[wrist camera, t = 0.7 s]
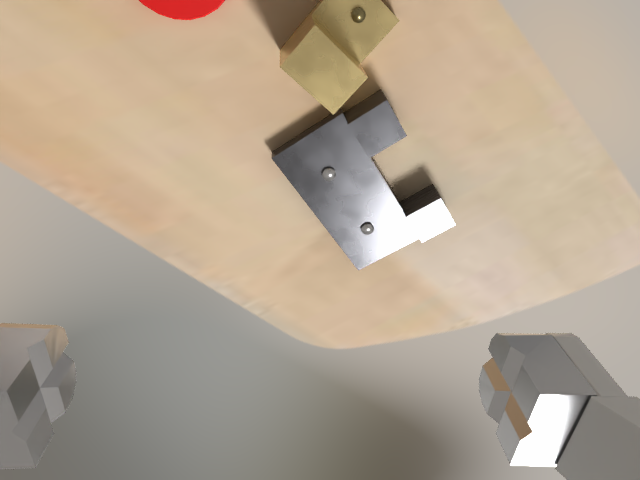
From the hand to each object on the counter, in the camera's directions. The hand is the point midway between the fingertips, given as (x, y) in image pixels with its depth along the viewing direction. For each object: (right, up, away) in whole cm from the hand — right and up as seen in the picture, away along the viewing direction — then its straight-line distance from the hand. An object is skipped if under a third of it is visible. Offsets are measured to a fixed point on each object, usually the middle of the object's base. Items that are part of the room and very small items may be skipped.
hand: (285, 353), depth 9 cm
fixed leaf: (+5, +7, +33) cm, 34 cm away
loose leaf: (+2, +18, +25) cm, 31 cm away
